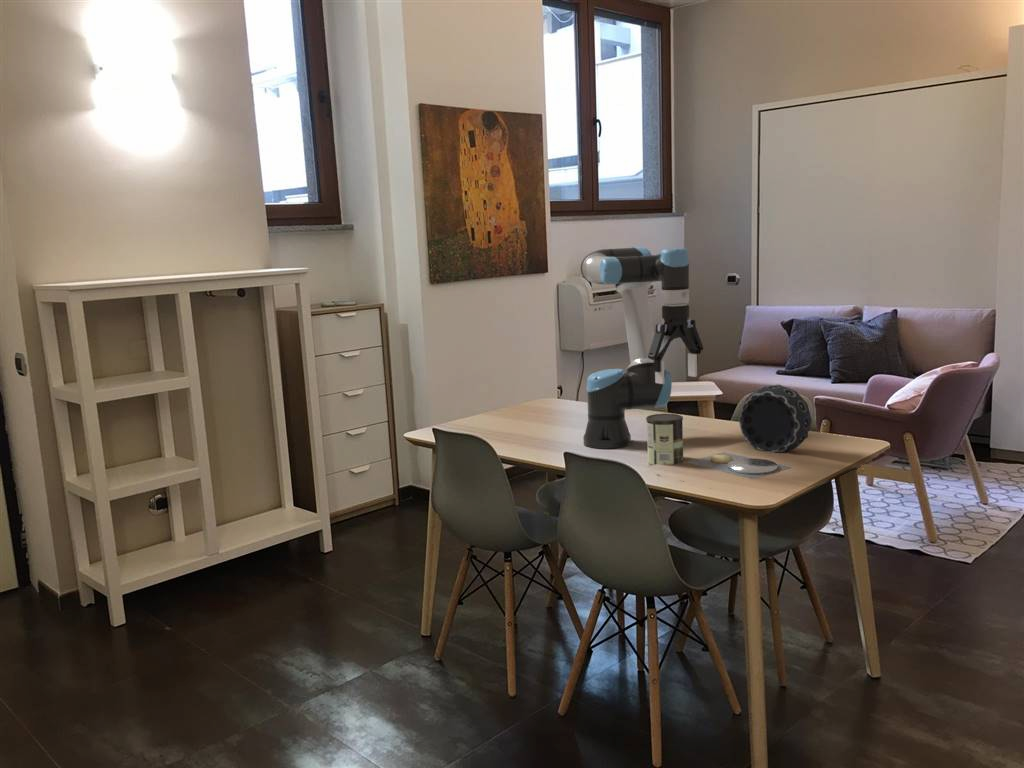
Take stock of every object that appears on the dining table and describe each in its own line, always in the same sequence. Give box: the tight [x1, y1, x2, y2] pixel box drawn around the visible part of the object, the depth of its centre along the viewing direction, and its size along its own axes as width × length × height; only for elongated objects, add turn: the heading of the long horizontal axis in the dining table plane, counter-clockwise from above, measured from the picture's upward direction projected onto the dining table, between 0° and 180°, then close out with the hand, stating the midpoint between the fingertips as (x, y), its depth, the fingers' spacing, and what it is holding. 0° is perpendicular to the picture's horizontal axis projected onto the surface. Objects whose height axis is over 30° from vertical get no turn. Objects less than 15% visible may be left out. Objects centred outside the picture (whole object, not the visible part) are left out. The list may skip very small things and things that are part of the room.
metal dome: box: [728, 457, 778, 475], centre depth 238 cm, size 13×13×1 cm
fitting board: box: [685, 451, 793, 480], centre depth 242 cm, size 24×16×2 cm, turn 35°
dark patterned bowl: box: [738, 384, 813, 453], centre depth 257 cm, size 11×20×20 cm, turn 51°
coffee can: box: [645, 413, 684, 467], centre depth 250 cm, size 10×10×14 cm
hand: (676, 379), depth 247 cm, fingers open, 13 cm apart
